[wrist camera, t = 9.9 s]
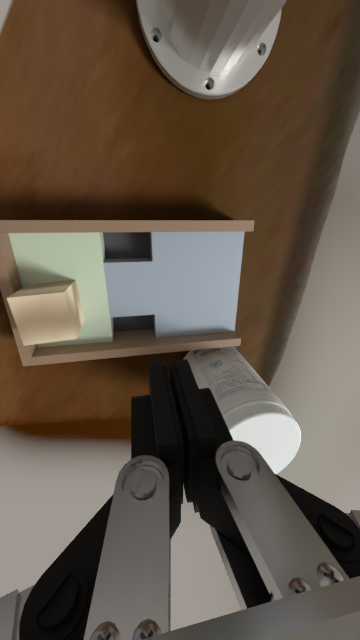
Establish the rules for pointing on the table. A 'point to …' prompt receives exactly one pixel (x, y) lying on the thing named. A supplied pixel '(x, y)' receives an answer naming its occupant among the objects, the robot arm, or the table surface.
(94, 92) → the table surface
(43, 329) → the maple block
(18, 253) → the box
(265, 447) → the supplement tub
